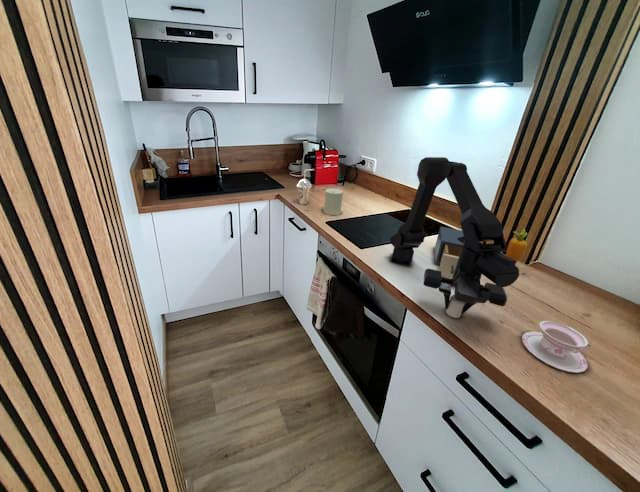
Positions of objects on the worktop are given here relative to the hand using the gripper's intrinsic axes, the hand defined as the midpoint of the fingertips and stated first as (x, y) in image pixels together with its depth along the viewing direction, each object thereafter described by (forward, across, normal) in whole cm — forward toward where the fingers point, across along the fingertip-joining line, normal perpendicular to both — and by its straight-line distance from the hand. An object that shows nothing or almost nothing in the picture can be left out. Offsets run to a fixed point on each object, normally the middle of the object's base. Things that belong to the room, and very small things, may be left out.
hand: (453, 310), depth 80 cm
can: (+1, -53, +59) cm, 79 cm away
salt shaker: (+1, 0, 0) cm, 1 cm away
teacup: (+1, +21, -4) cm, 21 cm away
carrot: (+1, +20, +38) cm, 43 cm away
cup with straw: (+1, -71, +64) cm, 96 cm away
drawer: (0, +2, +22) cm, 22 cm away
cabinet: (+1, +2, +34) cm, 34 cm away
